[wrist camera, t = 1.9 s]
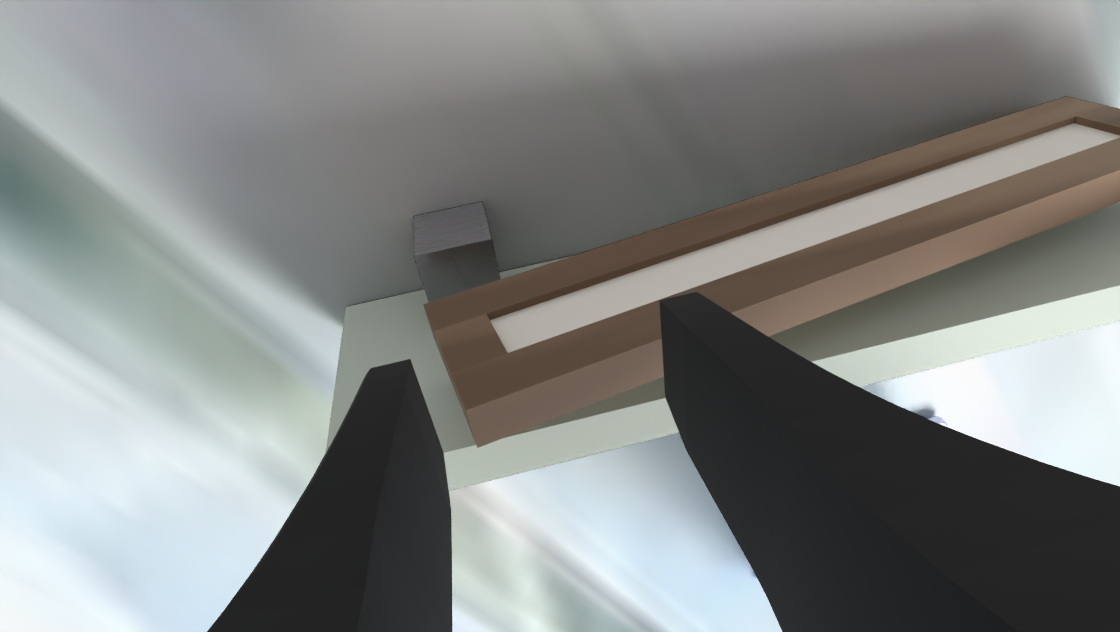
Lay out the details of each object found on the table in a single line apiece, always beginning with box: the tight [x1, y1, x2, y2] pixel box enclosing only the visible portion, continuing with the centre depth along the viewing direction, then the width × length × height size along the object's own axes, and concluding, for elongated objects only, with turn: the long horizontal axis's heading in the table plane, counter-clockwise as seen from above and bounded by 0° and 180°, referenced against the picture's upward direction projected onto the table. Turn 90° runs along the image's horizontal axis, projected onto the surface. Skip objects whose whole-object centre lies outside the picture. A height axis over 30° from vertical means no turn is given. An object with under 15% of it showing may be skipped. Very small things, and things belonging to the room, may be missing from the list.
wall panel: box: [326, 202, 1120, 491], centre depth 17 cm, size 4×26×7 cm, turn 98°
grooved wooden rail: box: [423, 96, 1120, 448], centre depth 16 cm, size 1×20×4 cm, turn 98°
